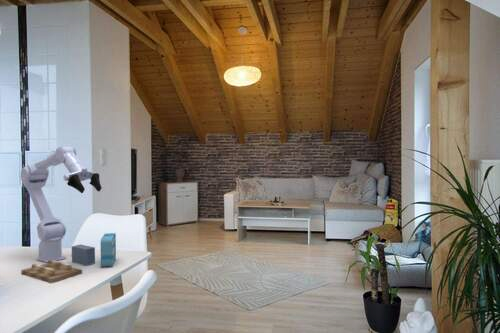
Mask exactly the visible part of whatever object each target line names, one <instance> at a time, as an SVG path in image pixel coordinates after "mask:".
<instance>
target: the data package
mask: <svg viewBox="0 0 500 333" xmlns="http://www.w3.org/2000/svg"><path fill="white" fill-rule="evenodd" d="M116 236H117V234H116V232H115V233H113V232H112V233H111V232H110V233H104V234H103V236H102V237H101V238H100V267H102V268H106V267H114V266H113V265H114V264H115V261H116V258H117V253H116V252H117V251H116V250H117V242H116V241H117V238H116Z"/></svg>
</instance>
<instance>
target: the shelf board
mask: <svg viewBox="0 0 500 333" xmlns="http://www.w3.org/2000/svg"><path fill="white" fill-rule="evenodd" d="M20 272H21V273H20V274H21V275H24V276H27V277H30V278H32V279H33V278H34V279H37V280H40V281H43V282H46V283H49V284H53V283H56V282H60V281H62V280H63V281H64V280H65V279H69V278H73V277H75V276H79V275H81V274H82V272H83V269H80V268H76V267H73V266H72V264H69V263H65V262H62V261H59V260H57V261H54V260H48V262H45V263H42V264H36V263H32V264H31V267H27V268H24V269H21V271H20Z"/></svg>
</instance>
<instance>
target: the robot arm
mask: <svg viewBox="0 0 500 333" xmlns="http://www.w3.org/2000/svg"><path fill="white" fill-rule="evenodd" d="M61 164H63V166H65V167H66V169H67V170H68V172H69V173H65V174H64V176H63V180H64V181H65V182H66V184H67V186H69V187H72V188H74V189H76V190H77V191H78V192H79V193H81V194H84V192H85V187H84V185H83V183H82V182H83V181H86V180H90V182H89V185H91V186H92V187H93V188H94V189H95V190H96V191H97V192H101V190H102V185H101V181H100V174H99V173H98V172H95V171H94V172H93V171H90V170H88V168H86V167H85V166H84V165H83V163H82V162H81V160H80V159H79V158H78V156H77V151H76V148H75V147H72V146H58V147H57V148H55V150H53V151H51V153H49V154H48V155H47V157H46V158H43V159H41V160H39V161H37V162H36V161H35V162H34V163H30V164H27V165H26V166H24V167H22V168H21V171H20V180H21V182H22V185H23V187H24V188H26V189H27V192H28V194H29V197H30V199H31V201H32V203H33V206H34V209H35V211H36V213H37V215H38V218H39V220H40V222H39V223H38V224H37V226H36V231H37V236H38V238H39V240H40V242H39V244H38V257H37V258H36V260H38V261H41V262H44V263H48V260H54V261H60V260H64V259H67V256H63V255H62V239H64V236H65V235H66V232H67V228H66V225H65V224H64V223H63V221H62V220H61V219H60V218H58V217H55V216H54V214H53V213H52V210H51V208H50V205H49V203H48V201H47V198H46V196H45V194H44V191H43V189H42V188H44V187H45V186H46V184H47V180H48V178H49V176H50V175H49V174H50V170H49V167H51V166H53V167H56V166H59V165H61Z"/></svg>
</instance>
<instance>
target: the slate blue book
mask: <svg viewBox="0 0 500 333" xmlns="http://www.w3.org/2000/svg"><path fill="white" fill-rule="evenodd" d="M71 263H74V264H78V265H80V266H81V265H82V266H85V267H87V266H91V265H94V264H96V248H95V246H89V245H85V244H81V243H80V244H75V245H72V246H71Z"/></svg>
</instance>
